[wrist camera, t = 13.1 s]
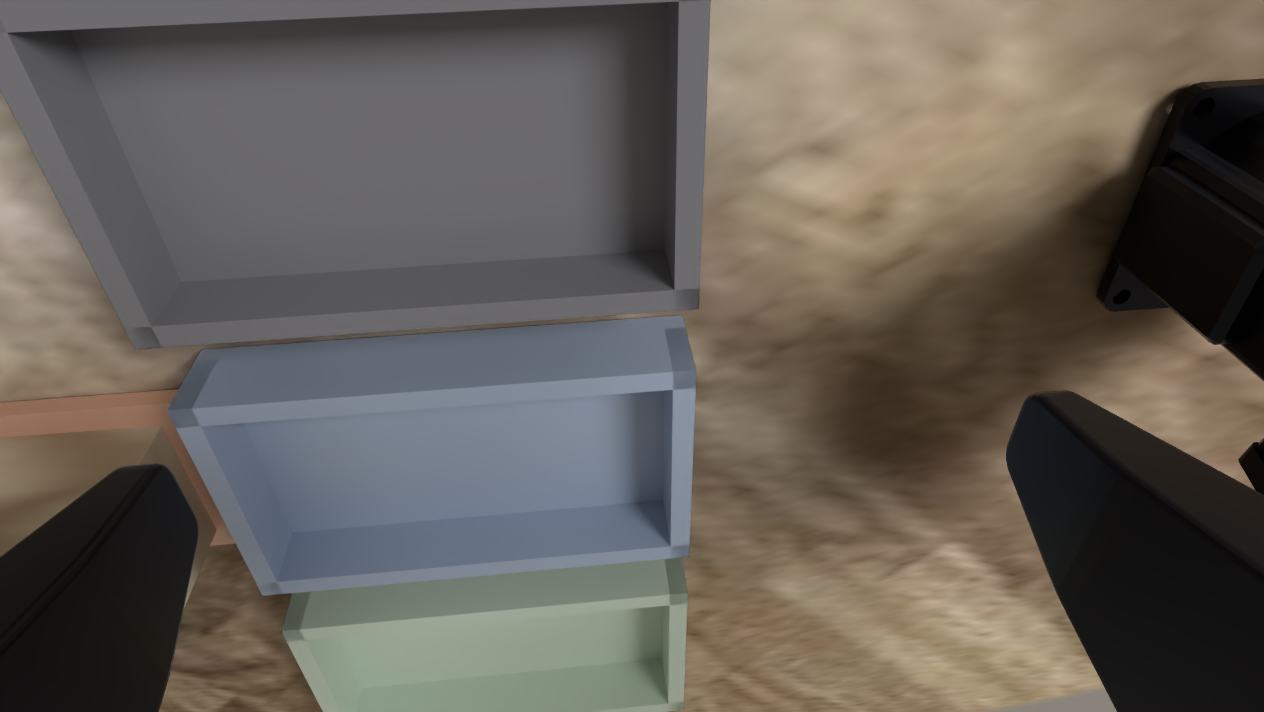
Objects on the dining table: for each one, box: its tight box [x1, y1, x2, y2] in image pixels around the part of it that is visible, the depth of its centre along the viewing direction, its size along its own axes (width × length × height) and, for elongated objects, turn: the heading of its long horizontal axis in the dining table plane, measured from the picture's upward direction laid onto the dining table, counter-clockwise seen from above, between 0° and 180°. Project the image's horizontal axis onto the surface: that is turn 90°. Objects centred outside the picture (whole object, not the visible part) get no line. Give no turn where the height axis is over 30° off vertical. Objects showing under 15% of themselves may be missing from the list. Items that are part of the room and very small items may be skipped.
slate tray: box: [167, 315, 696, 596], centre depth 23 cm, size 13×8×2 cm, turn 91°
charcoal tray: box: [0, 0, 711, 349], centre depth 17 cm, size 13×8×2 cm, turn 91°
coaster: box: [0, 389, 236, 546], centre depth 23 cm, size 6×6×1 cm
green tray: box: [281, 558, 688, 712], centre depth 29 cm, size 13×8×2 cm, turn 91°
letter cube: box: [0, 426, 217, 608], centre depth 21 cm, size 4×4×5 cm
